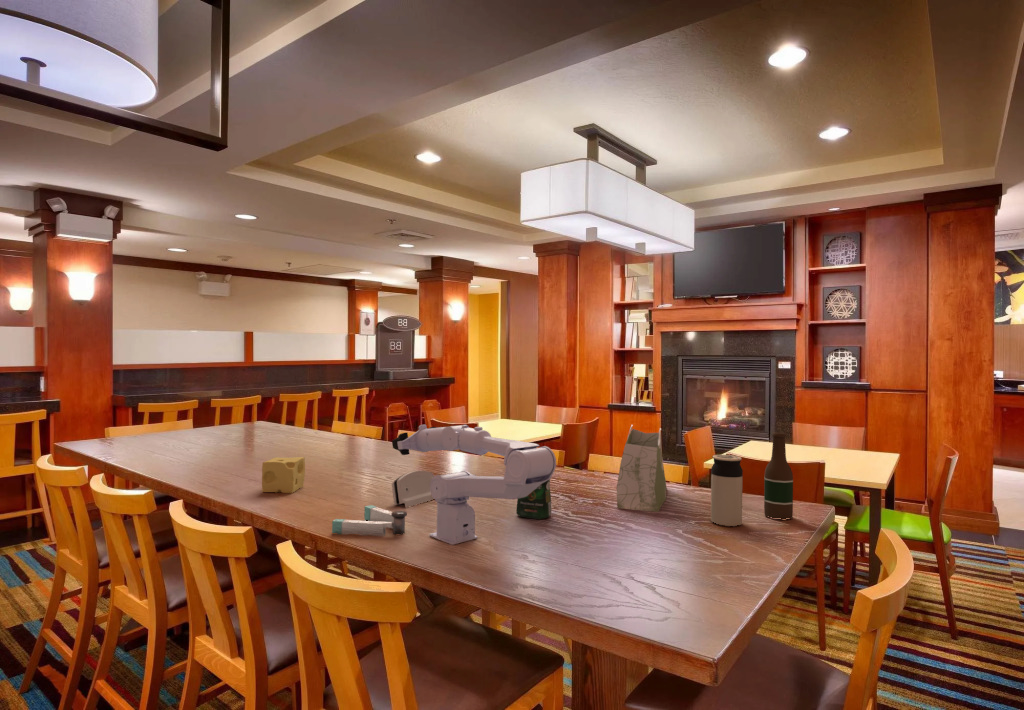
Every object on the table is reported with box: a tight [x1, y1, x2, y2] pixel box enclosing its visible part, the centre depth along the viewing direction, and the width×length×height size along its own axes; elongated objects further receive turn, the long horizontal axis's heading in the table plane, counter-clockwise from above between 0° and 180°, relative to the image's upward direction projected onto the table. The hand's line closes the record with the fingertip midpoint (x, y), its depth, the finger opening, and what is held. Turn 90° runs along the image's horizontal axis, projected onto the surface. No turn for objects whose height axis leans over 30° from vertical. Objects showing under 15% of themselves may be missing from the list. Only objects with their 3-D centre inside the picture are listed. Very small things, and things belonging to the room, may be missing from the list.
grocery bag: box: [616, 424, 668, 513], centre depth 185 cm, size 32×14×23 cm, turn 162°
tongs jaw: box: [363, 504, 393, 530], centre depth 152 cm, size 15×2×4 cm, turn 48°
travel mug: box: [710, 454, 744, 527], centre depth 158 cm, size 8×8×18 cm
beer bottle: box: [763, 431, 794, 519], centre depth 165 cm, size 8×8×24 cm
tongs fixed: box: [331, 510, 408, 537], centre depth 145 cm, size 18×5×5 cm, turn 83°
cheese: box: [261, 456, 306, 494], centre depth 190 cm, size 10×11×10 cm
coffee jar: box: [515, 479, 552, 520], centre depth 162 cm, size 10×8×19 cm
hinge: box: [391, 470, 435, 508], centre depth 178 cm, size 17×5×10 cm, turn 146°
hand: (405, 441), depth 157 cm, fingers open, 7 cm apart
